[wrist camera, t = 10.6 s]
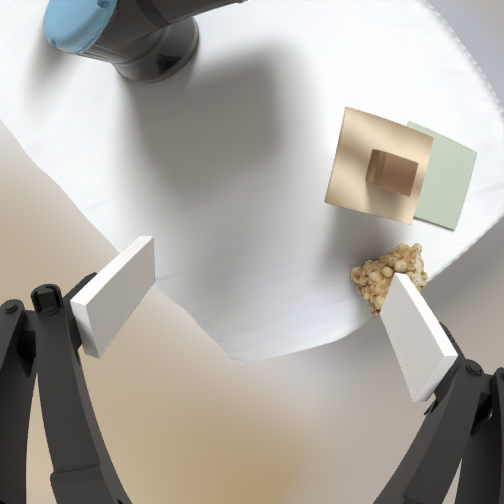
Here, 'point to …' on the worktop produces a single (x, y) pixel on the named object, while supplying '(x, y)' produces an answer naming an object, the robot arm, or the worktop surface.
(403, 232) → the worktop surface
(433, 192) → the mat
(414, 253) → the mineral formation
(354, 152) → the lid
